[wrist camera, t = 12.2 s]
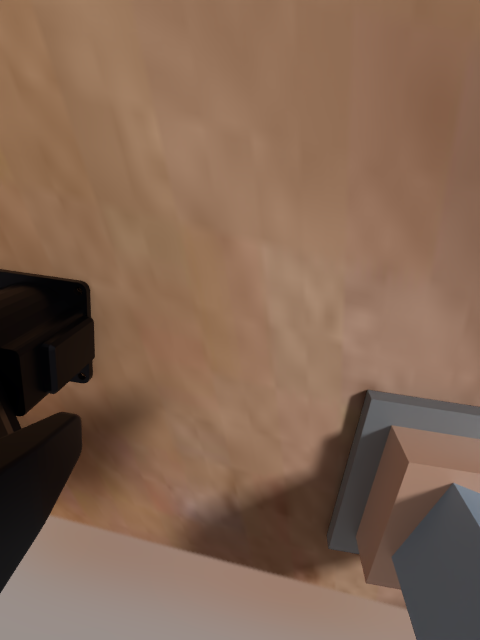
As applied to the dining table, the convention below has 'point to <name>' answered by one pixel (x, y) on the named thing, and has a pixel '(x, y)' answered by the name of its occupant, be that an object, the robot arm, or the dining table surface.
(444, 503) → the slate blue brick
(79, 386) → the dining table surface
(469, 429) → the tower base
